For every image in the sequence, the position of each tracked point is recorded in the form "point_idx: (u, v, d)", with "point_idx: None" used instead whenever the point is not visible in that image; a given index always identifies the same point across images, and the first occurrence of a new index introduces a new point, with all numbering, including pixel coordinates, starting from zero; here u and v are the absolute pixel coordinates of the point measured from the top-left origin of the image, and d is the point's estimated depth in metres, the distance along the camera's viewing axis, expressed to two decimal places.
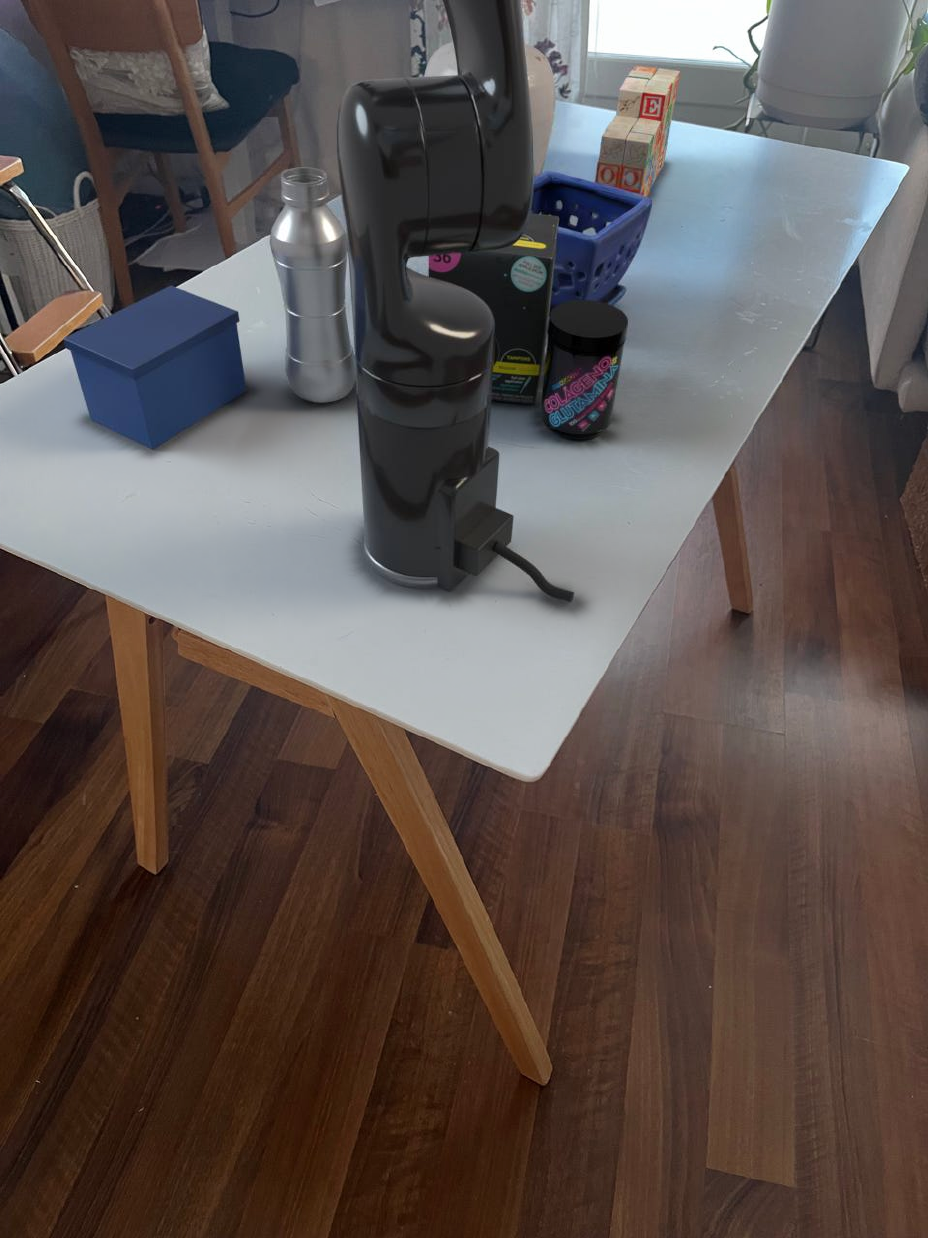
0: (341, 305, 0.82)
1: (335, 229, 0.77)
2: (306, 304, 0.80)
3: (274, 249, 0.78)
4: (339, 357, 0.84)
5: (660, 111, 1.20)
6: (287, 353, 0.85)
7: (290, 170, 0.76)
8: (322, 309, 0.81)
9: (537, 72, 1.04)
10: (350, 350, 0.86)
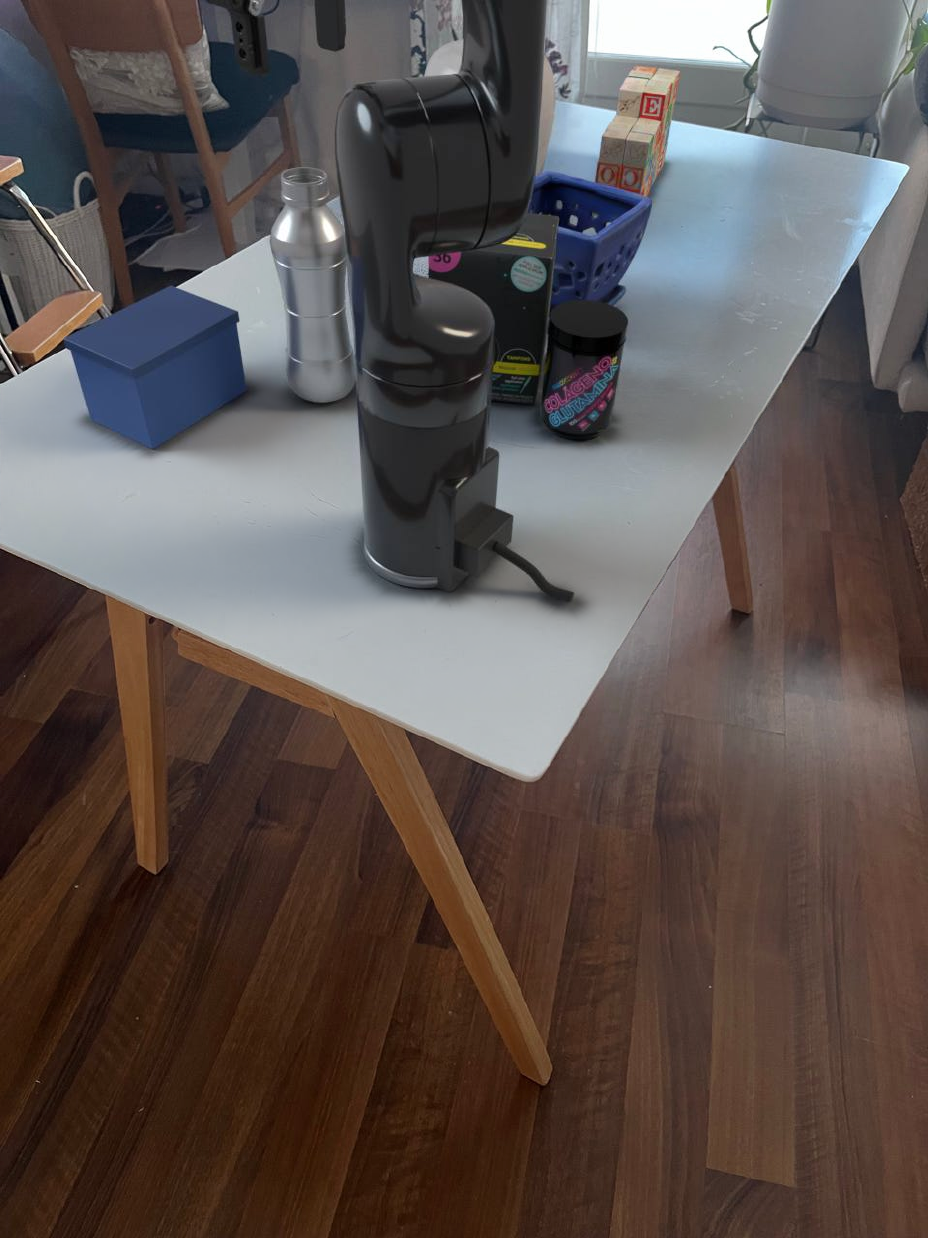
0: (341, 305, 0.82)
1: (335, 229, 0.77)
2: (306, 304, 0.80)
3: (274, 249, 0.78)
4: (339, 357, 0.84)
5: (660, 111, 1.20)
6: (287, 353, 0.85)
7: (290, 170, 0.76)
8: (322, 309, 0.81)
9: None
10: (350, 350, 0.86)
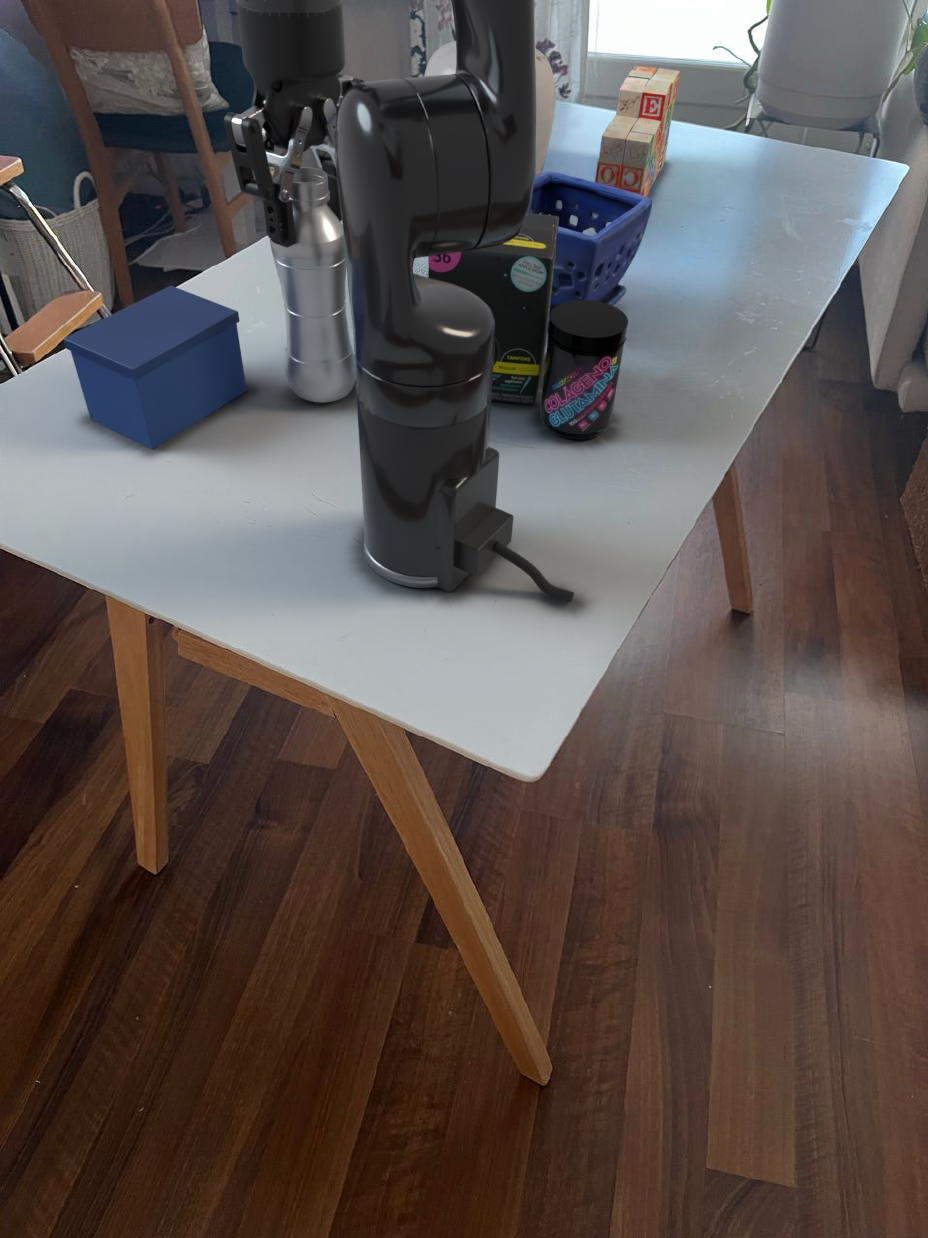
0: (341, 305, 0.82)
1: (335, 229, 0.77)
2: (306, 304, 0.80)
3: (274, 249, 0.78)
4: (339, 357, 0.84)
5: (660, 111, 1.20)
6: (287, 353, 0.85)
7: None
8: (322, 309, 0.81)
9: (537, 72, 1.04)
10: (350, 350, 0.86)
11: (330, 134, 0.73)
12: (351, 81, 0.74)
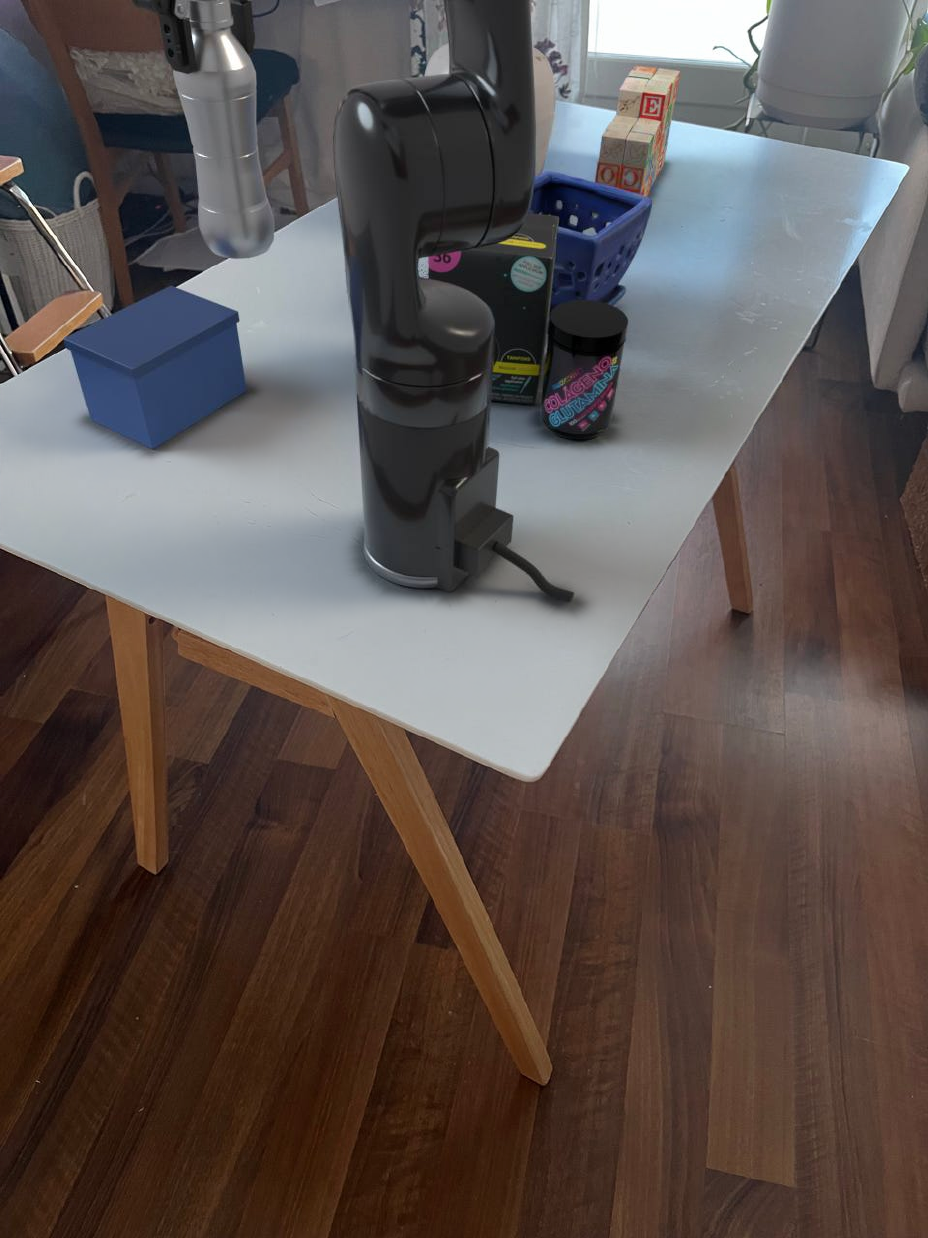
0: (252, 147, 0.78)
1: (240, 58, 0.74)
2: (214, 143, 0.77)
3: (177, 79, 0.74)
4: (253, 207, 0.81)
5: (660, 111, 1.20)
6: (199, 204, 0.82)
7: None
8: (231, 149, 0.77)
9: (537, 72, 1.04)
10: (265, 202, 0.82)
11: None
12: None
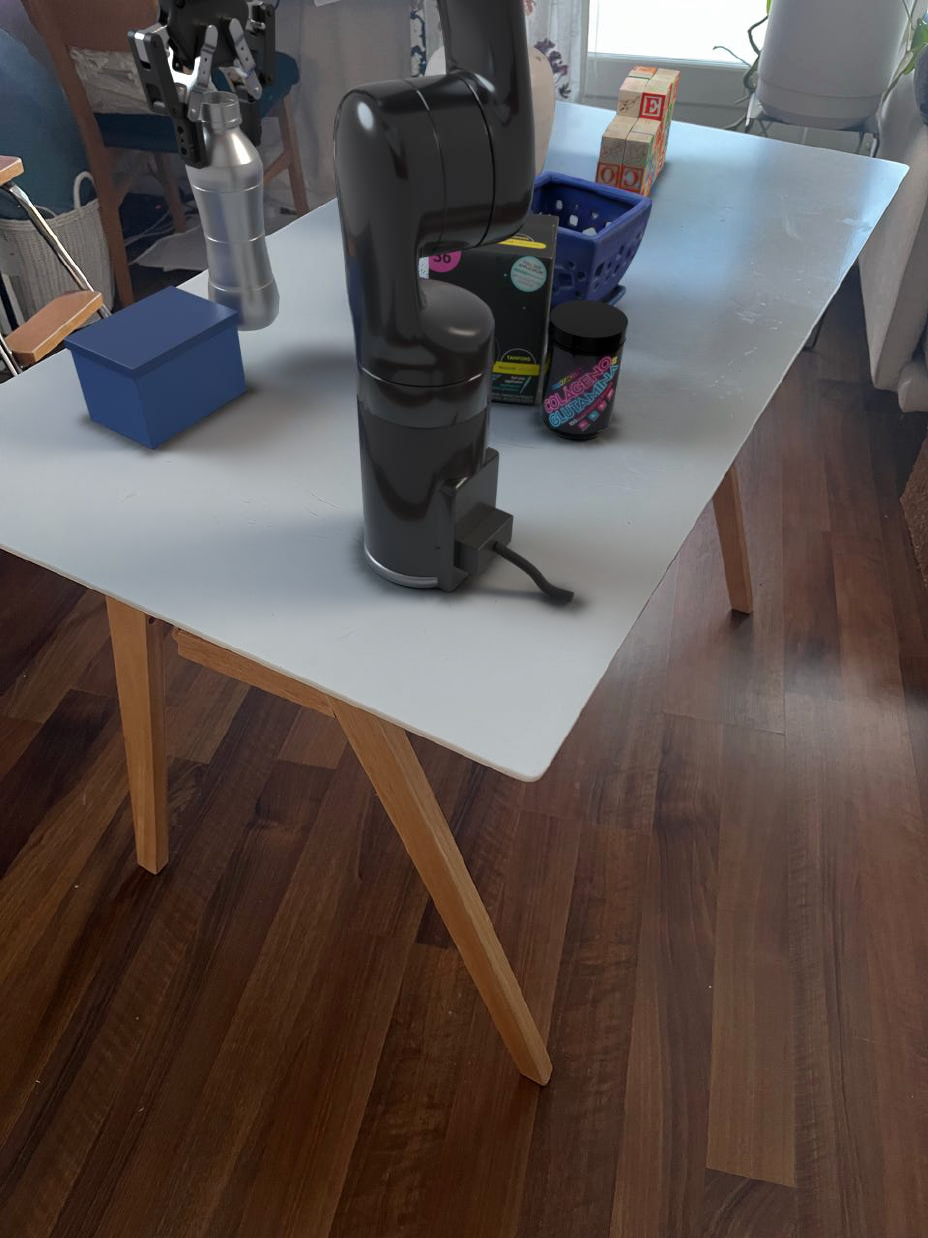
0: (259, 231, 0.84)
1: (248, 153, 0.79)
2: (223, 229, 0.82)
3: (189, 172, 0.79)
4: (259, 284, 0.86)
5: (660, 111, 1.20)
6: (209, 281, 0.87)
7: (203, 93, 0.78)
8: (239, 234, 0.82)
9: (537, 72, 1.04)
10: (271, 279, 0.87)
11: (239, 56, 0.75)
12: (260, 5, 0.76)
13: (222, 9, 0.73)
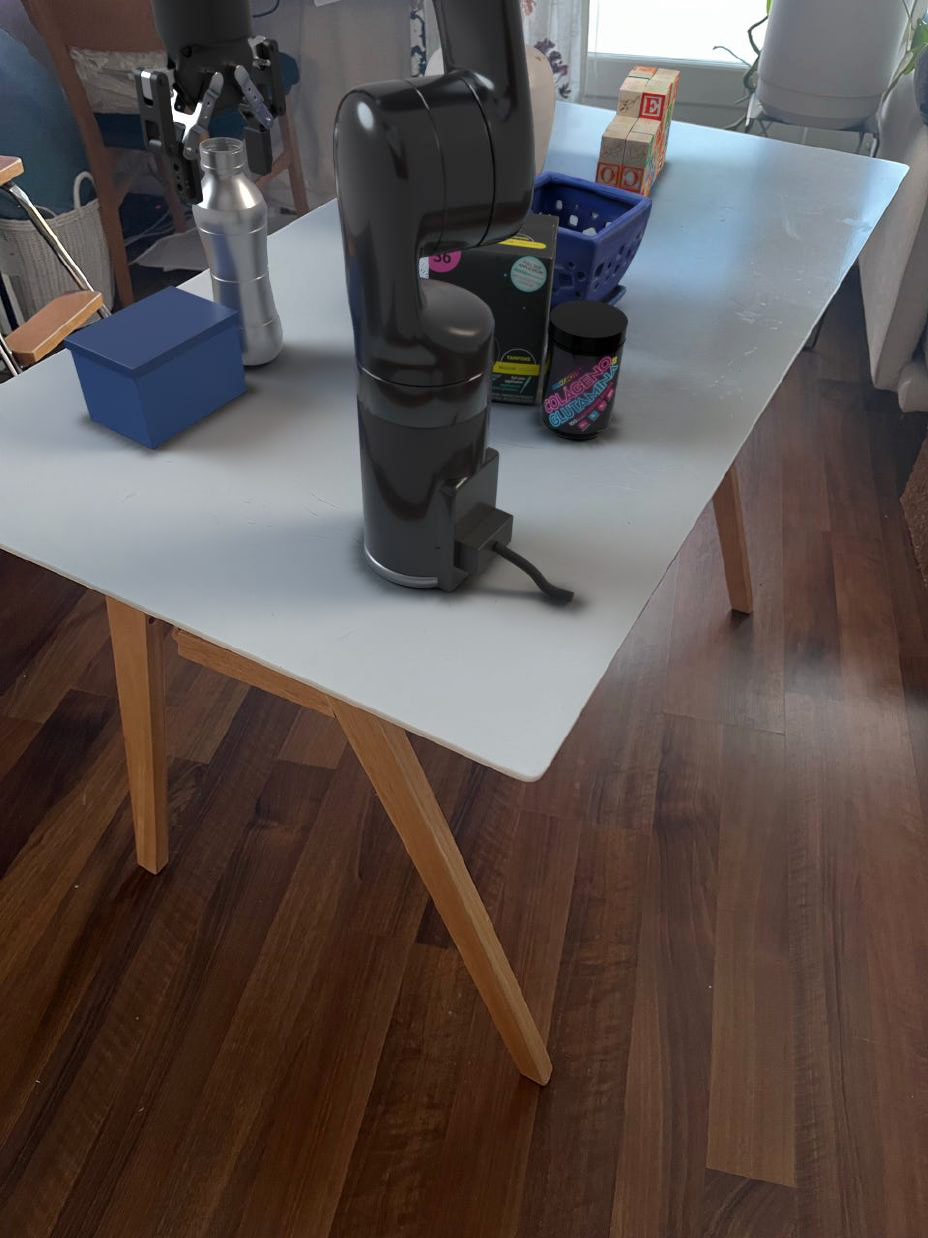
0: (263, 270, 0.86)
1: (253, 197, 0.82)
2: (228, 269, 0.84)
3: (195, 215, 0.82)
4: (263, 321, 0.89)
5: (660, 111, 1.20)
6: None
7: (209, 140, 0.80)
8: (244, 274, 0.85)
9: (537, 72, 1.04)
10: (275, 315, 0.90)
11: (247, 97, 0.78)
12: (263, 42, 0.78)
13: (228, 56, 0.75)
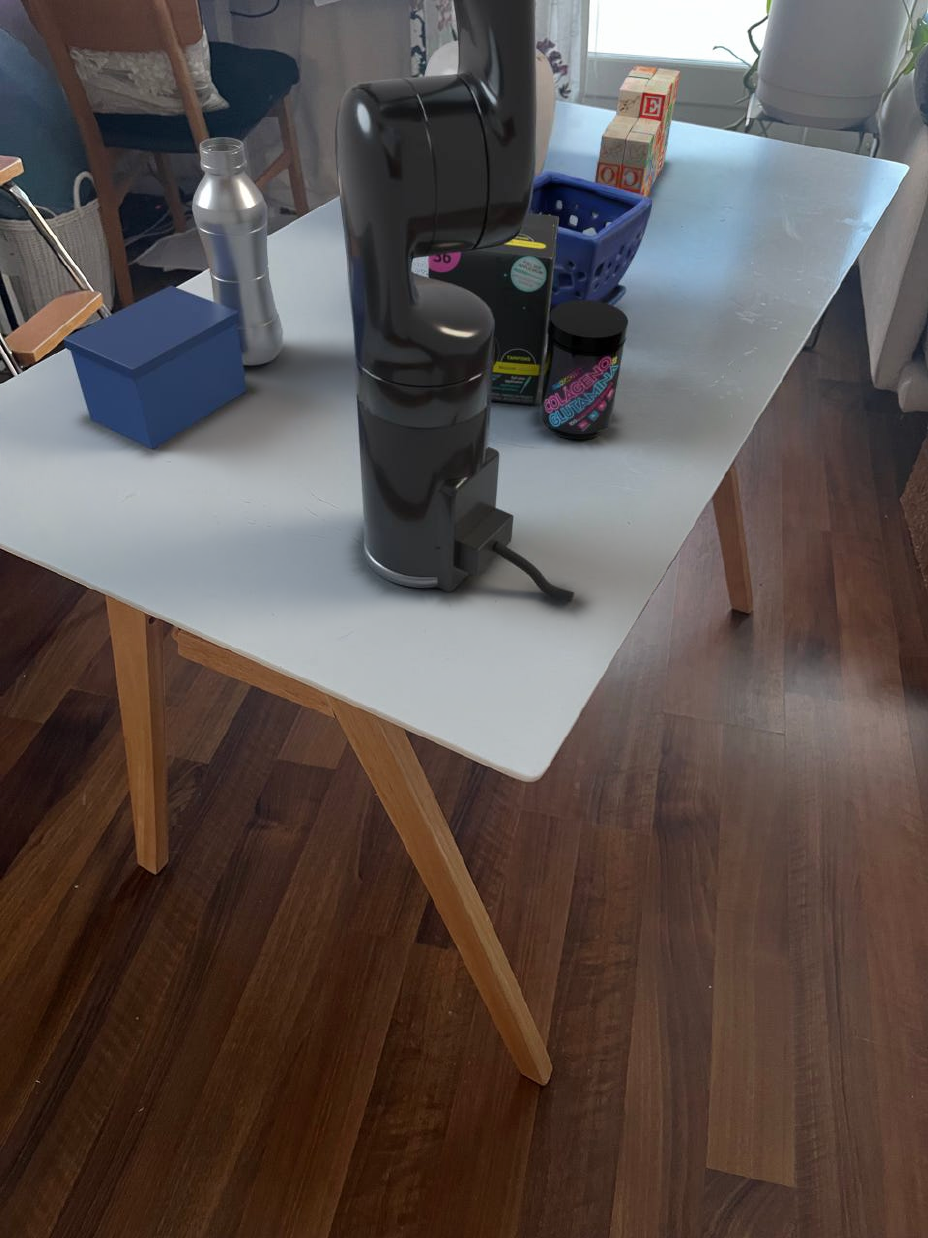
0: (263, 270, 0.86)
1: (253, 197, 0.82)
2: (229, 269, 0.84)
3: (195, 215, 0.82)
4: (263, 321, 0.89)
5: (661, 111, 1.20)
6: None
7: (209, 140, 0.80)
8: (244, 274, 0.85)
9: (537, 72, 1.04)
10: (275, 315, 0.90)
11: None
12: None
13: None
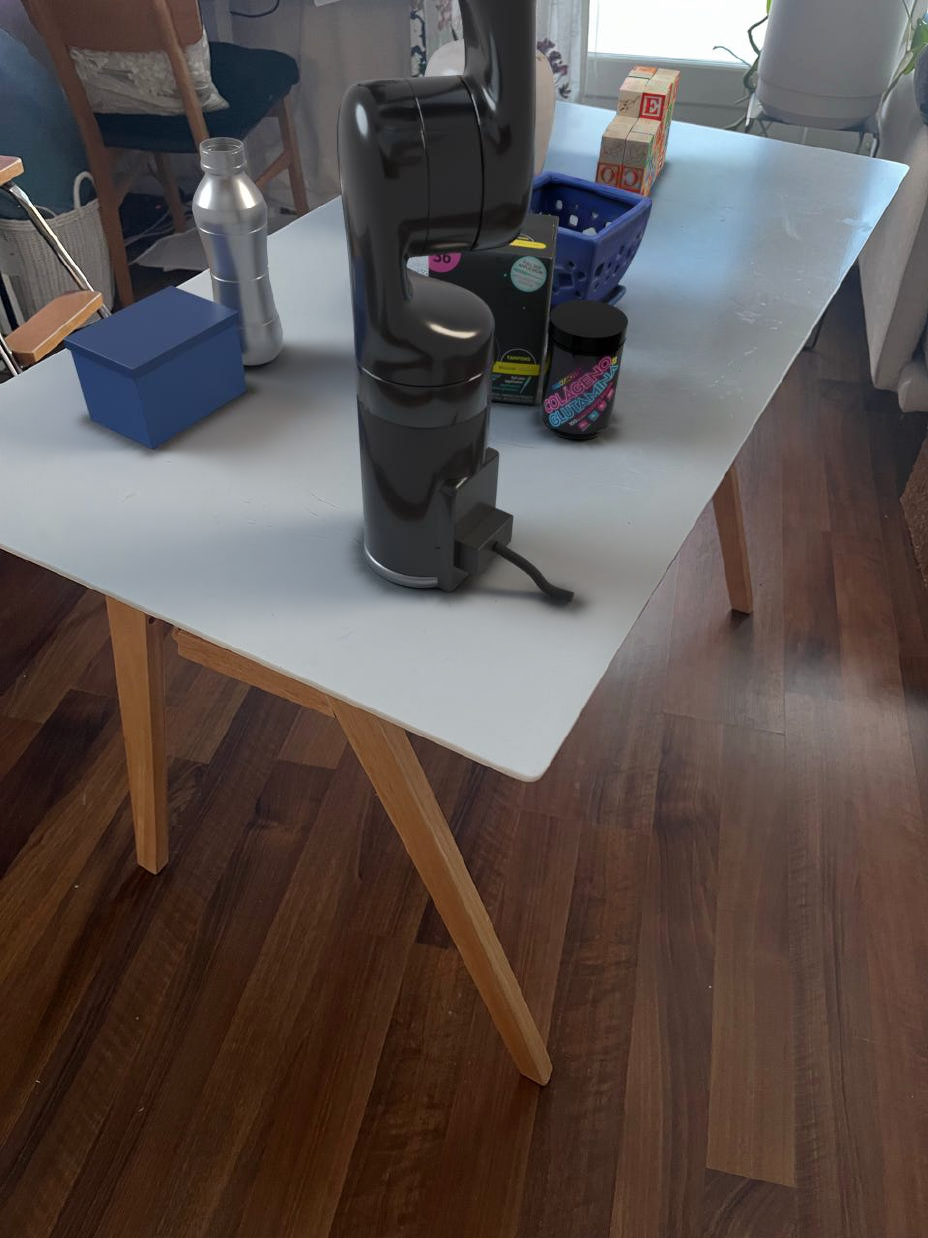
0: (263, 270, 0.86)
1: (253, 197, 0.82)
2: (229, 269, 0.84)
3: (195, 215, 0.82)
4: (263, 321, 0.89)
5: (661, 111, 1.20)
6: None
7: (209, 140, 0.80)
8: (244, 274, 0.85)
9: (537, 72, 1.04)
10: (275, 315, 0.90)
11: None
12: None
13: None
